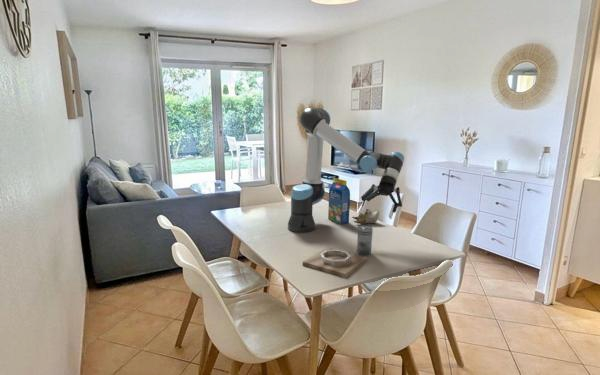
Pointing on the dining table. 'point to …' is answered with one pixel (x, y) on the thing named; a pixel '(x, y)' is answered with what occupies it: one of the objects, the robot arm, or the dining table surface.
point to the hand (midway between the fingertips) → (375, 215)
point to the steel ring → (335, 262)
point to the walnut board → (339, 269)
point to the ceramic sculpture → (367, 217)
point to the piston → (364, 240)
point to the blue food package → (339, 201)
